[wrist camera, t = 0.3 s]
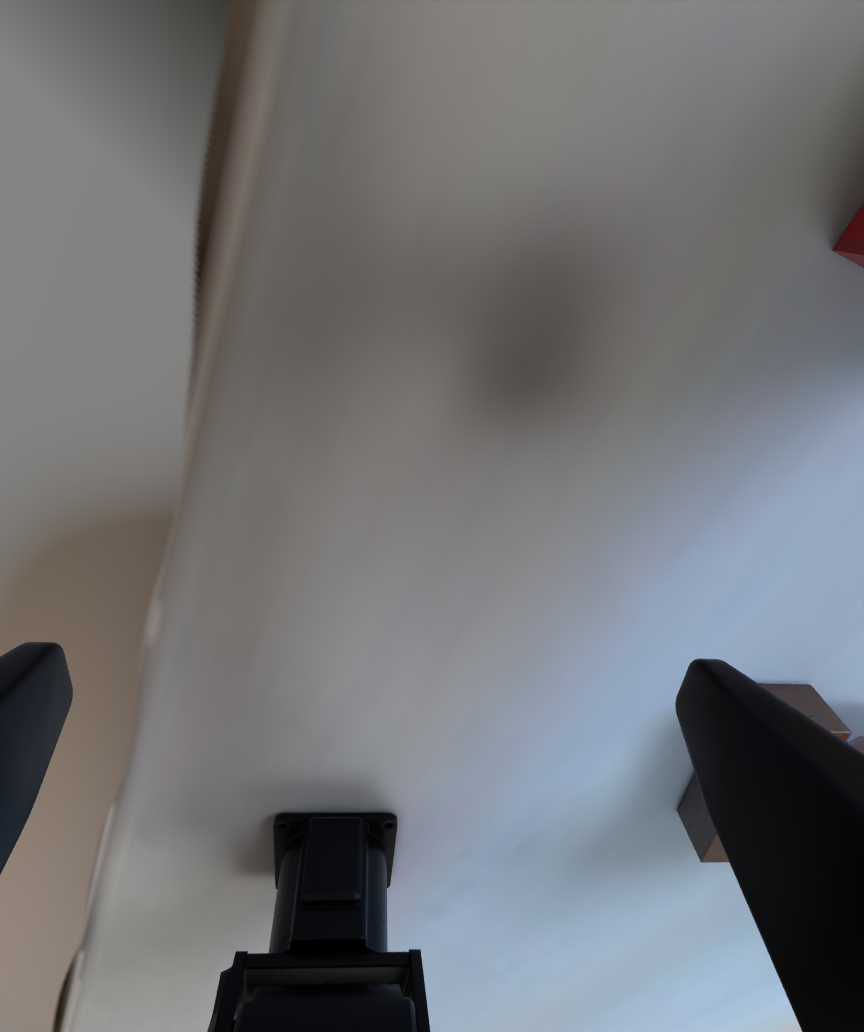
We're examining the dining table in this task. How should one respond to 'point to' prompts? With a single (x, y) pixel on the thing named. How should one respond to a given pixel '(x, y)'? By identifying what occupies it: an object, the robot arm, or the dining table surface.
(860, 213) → the baking soda box
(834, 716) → the walnut block
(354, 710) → the dining table surface
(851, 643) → the dining table surface
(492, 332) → the dining table surface
